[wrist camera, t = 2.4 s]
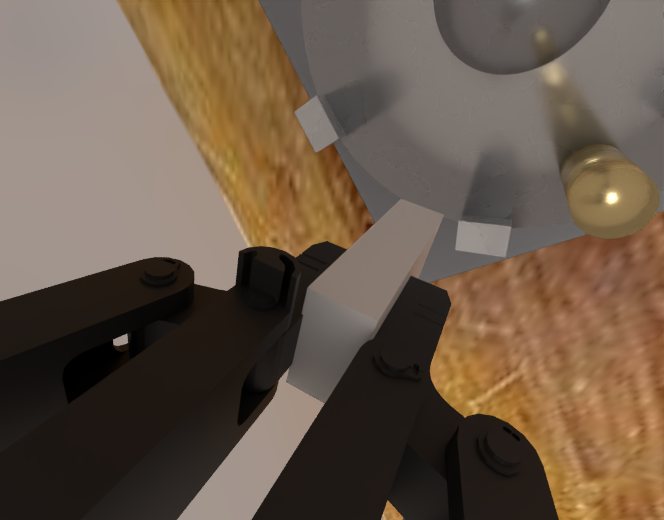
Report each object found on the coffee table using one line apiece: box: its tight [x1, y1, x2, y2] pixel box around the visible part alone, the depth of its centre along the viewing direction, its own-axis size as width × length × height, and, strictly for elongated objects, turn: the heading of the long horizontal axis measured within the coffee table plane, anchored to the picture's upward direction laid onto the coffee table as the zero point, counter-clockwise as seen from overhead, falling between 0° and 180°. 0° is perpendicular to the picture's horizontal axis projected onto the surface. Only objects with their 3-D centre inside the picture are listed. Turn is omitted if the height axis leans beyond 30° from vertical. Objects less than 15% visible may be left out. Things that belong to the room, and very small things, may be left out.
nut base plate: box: [259, 0, 664, 283], centre depth 18 cm, size 24×24×2 cm
